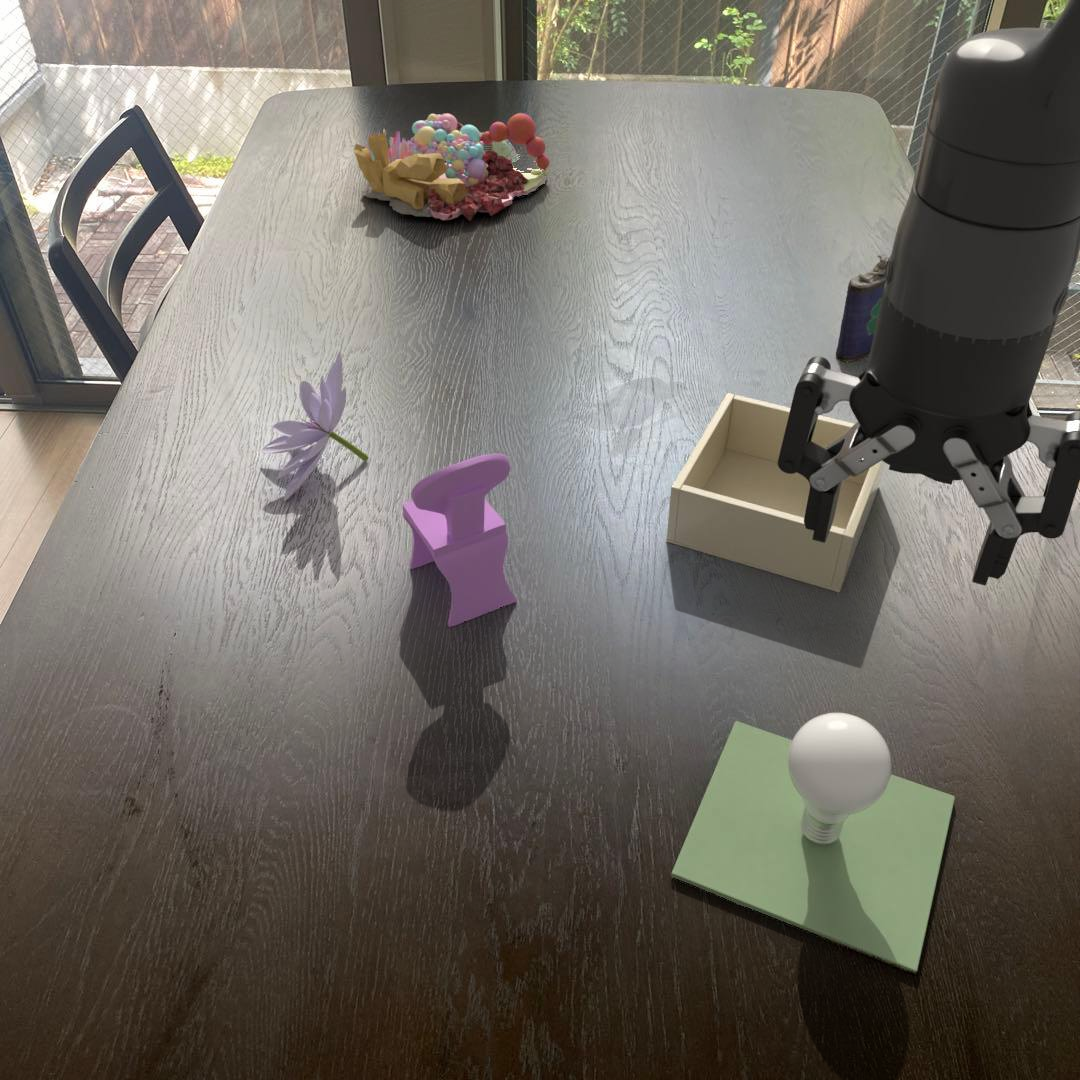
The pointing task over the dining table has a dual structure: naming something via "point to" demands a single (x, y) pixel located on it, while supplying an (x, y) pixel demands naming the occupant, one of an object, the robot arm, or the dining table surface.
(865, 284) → the flask
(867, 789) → the lightbulb
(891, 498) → the dining table surface
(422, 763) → the dining table surface
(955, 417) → the robot arm
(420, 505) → the toy chair
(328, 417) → the water lily
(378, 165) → the candy landscape model
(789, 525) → the open wooden box
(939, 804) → the mat
